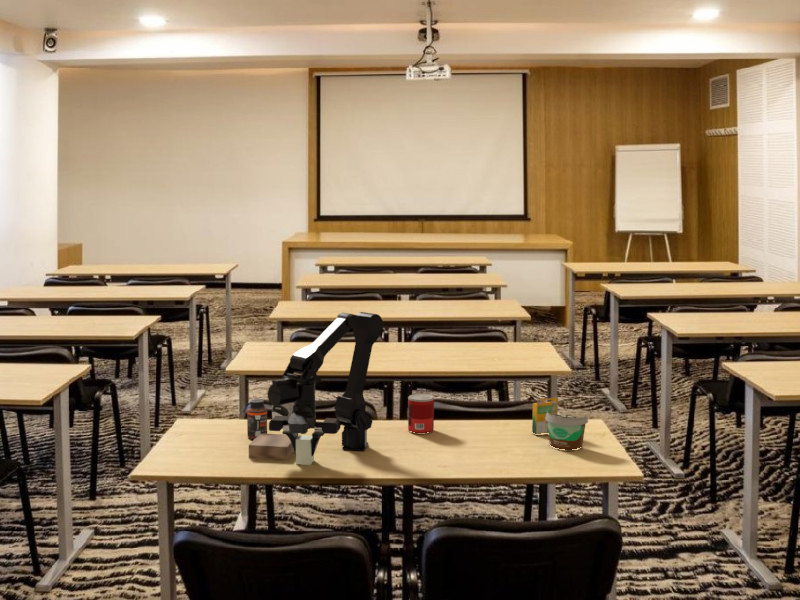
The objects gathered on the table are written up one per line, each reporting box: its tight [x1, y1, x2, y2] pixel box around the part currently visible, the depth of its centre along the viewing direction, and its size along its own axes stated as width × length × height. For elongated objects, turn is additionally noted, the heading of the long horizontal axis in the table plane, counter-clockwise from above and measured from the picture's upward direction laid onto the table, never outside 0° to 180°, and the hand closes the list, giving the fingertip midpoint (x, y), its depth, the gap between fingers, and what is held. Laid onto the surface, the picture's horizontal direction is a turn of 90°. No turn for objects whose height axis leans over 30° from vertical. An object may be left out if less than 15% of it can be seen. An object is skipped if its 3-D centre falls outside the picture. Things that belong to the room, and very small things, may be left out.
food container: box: [545, 411, 589, 450], centre depth 226 cm, size 12×6×10 cm, turn 70°
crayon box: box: [531, 397, 559, 434], centre depth 240 cm, size 7×3×12 cm, turn 108°
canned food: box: [407, 393, 435, 433], centre depth 242 cm, size 8×8×11 cm
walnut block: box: [248, 433, 295, 461], centre depth 222 cm, size 11×11×4 cm
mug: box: [271, 402, 294, 420], centre depth 253 cm, size 10×7×7 cm
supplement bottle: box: [246, 398, 268, 440], centre depth 235 cm, size 6×6×11 cm
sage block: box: [295, 434, 315, 466], centre depth 213 cm, size 4×4×7 cm
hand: (305, 455), depth 213 cm, fingers closed on sage block, 4 cm apart
